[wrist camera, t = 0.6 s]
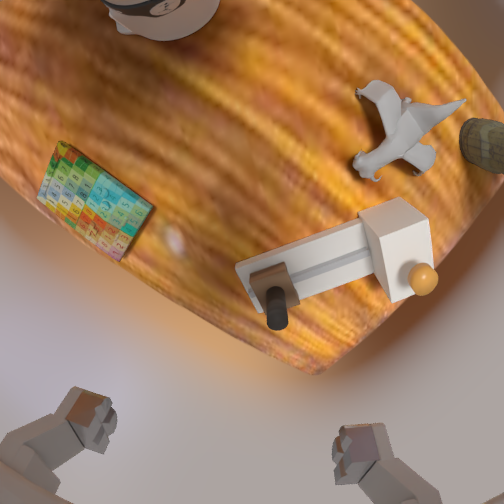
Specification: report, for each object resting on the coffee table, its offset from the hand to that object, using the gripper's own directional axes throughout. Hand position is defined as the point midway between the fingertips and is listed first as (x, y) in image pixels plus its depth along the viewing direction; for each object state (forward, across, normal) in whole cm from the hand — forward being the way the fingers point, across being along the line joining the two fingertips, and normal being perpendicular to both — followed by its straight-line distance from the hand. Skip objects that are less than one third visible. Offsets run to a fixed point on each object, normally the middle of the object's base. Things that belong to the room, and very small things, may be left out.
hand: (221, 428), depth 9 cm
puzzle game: (+39, +28, 0) cm, 48 cm away
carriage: (+39, -3, +14) cm, 41 cm away
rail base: (+41, -12, +10) cm, 44 cm away
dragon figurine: (+40, -20, -14) cm, 46 cm away
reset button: (+28, -23, +6) cm, 37 cm away
